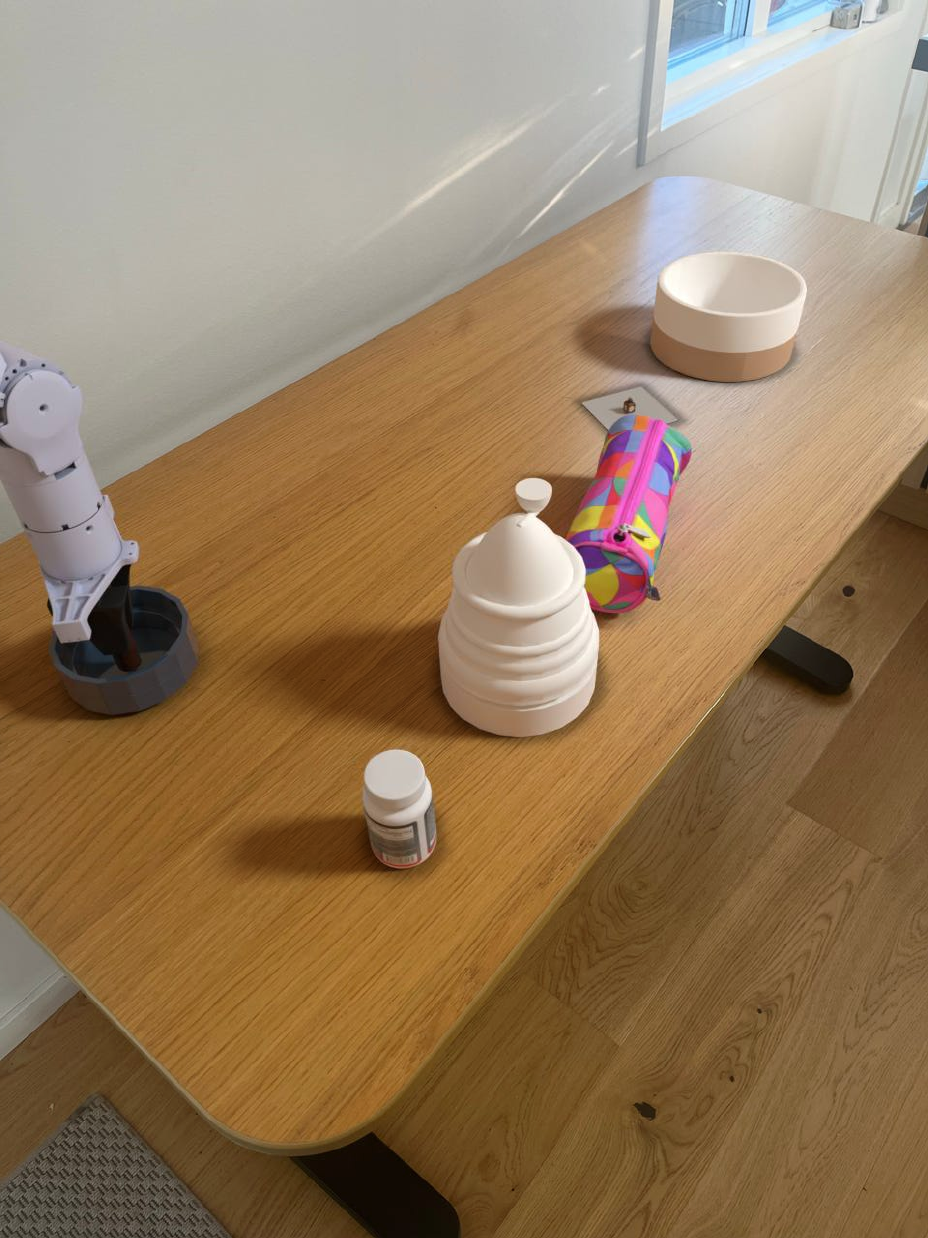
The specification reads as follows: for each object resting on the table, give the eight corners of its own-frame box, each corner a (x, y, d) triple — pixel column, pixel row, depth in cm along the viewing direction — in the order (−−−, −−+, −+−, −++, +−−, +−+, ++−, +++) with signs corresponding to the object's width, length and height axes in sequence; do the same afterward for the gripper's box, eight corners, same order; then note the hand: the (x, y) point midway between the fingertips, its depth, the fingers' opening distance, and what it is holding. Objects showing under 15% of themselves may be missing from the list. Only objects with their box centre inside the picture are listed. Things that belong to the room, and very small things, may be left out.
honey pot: (488, 602, 82) (485, 433, 69) (620, 653, 77) (643, 480, 65) (411, 698, 75) (392, 528, 62) (552, 761, 70) (563, 590, 57)
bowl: (729, 399, 105) (742, 331, 99) (620, 344, 114) (627, 279, 109) (820, 349, 112) (838, 283, 106) (711, 301, 122) (722, 238, 116)
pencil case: (654, 635, 79) (667, 556, 72) (547, 614, 81) (551, 536, 75) (686, 487, 93) (700, 411, 87) (596, 473, 95) (603, 397, 89)
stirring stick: (116, 673, 75) (76, 585, 68) (119, 656, 77) (80, 568, 70) (140, 670, 76) (103, 582, 68) (143, 653, 77) (106, 564, 70)
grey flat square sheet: (641, 386, 107) (642, 372, 106) (678, 420, 102) (680, 405, 101) (581, 402, 105) (581, 388, 104) (615, 438, 100) (617, 423, 99)
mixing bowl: (58, 727, 74) (38, 691, 70) (78, 631, 81) (61, 594, 78) (196, 709, 74) (182, 672, 71) (203, 615, 82) (191, 578, 79)
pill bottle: (406, 801, 68) (397, 731, 62) (450, 840, 65) (445, 771, 59) (357, 841, 65) (342, 772, 59) (401, 883, 63) (390, 816, 57)
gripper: (105, 568, 60) (160, 701, 69) (130, 443, 70) (175, 574, 80) (-6, 581, 59) (65, 713, 69) (35, 453, 69) (92, 584, 79)
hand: (118, 639), depth 74 cm, fingers closed on stirring stick, 2 cm apart
